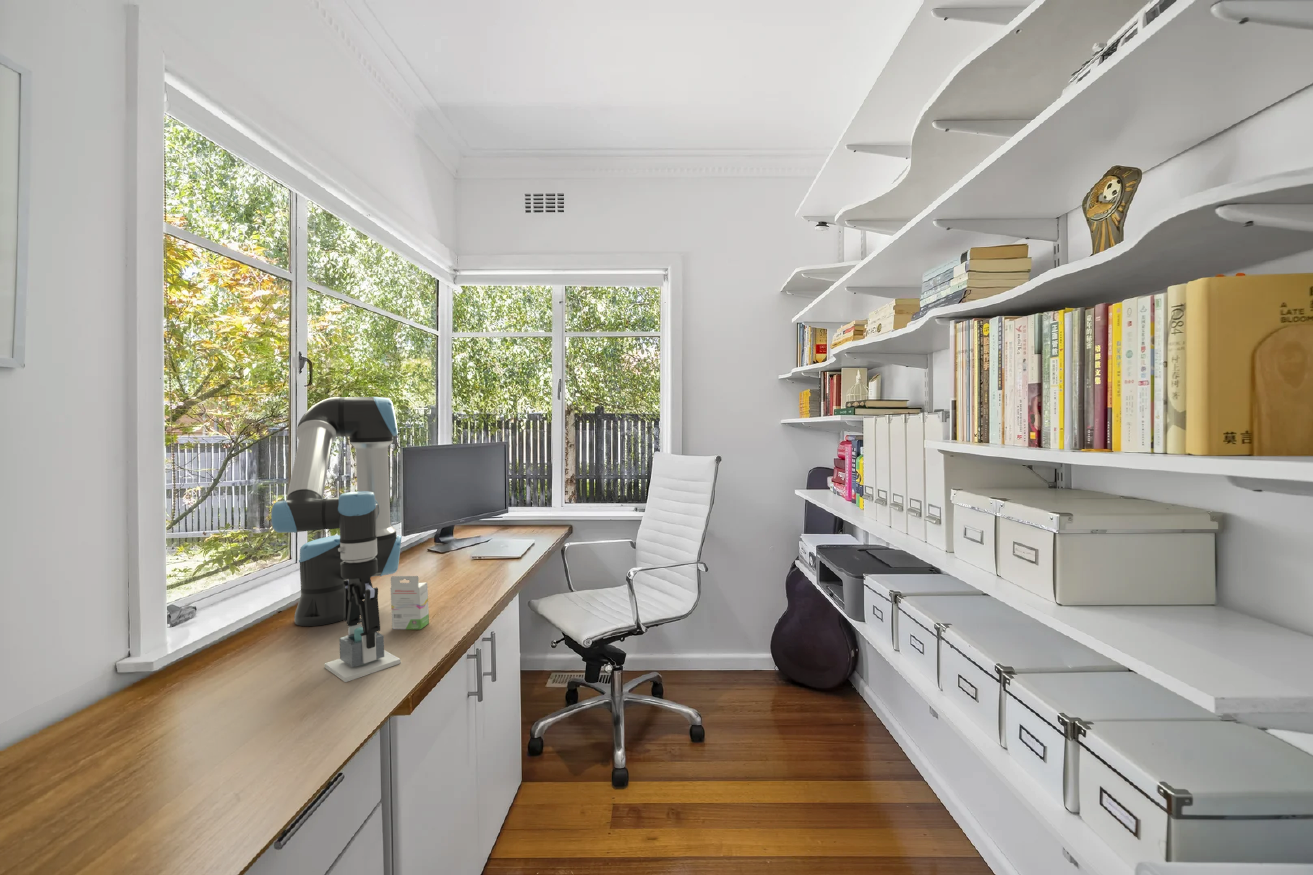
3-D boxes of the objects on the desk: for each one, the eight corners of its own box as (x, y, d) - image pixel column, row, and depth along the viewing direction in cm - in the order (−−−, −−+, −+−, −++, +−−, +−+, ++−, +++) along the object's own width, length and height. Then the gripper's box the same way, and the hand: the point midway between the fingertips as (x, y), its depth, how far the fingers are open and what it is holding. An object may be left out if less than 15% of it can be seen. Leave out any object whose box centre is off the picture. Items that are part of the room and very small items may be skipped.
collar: (340, 659, 127) (339, 637, 127) (371, 649, 132) (370, 628, 132) (352, 667, 123) (351, 644, 123) (384, 656, 128) (383, 635, 128)
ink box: (430, 623, 155) (428, 571, 154) (420, 629, 150) (419, 576, 149) (401, 622, 155) (399, 571, 155) (390, 629, 150) (389, 575, 150)
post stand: (324, 667, 127) (323, 631, 127) (378, 650, 136) (377, 616, 136) (345, 682, 119) (343, 643, 119) (400, 663, 128) (399, 627, 128)
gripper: (325, 556, 131) (328, 651, 131) (359, 568, 118) (363, 674, 118) (358, 550, 136) (361, 641, 137) (395, 561, 124) (398, 662, 124)
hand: (362, 656), depth 128 cm, fingers closed on collar, 7 cm apart
